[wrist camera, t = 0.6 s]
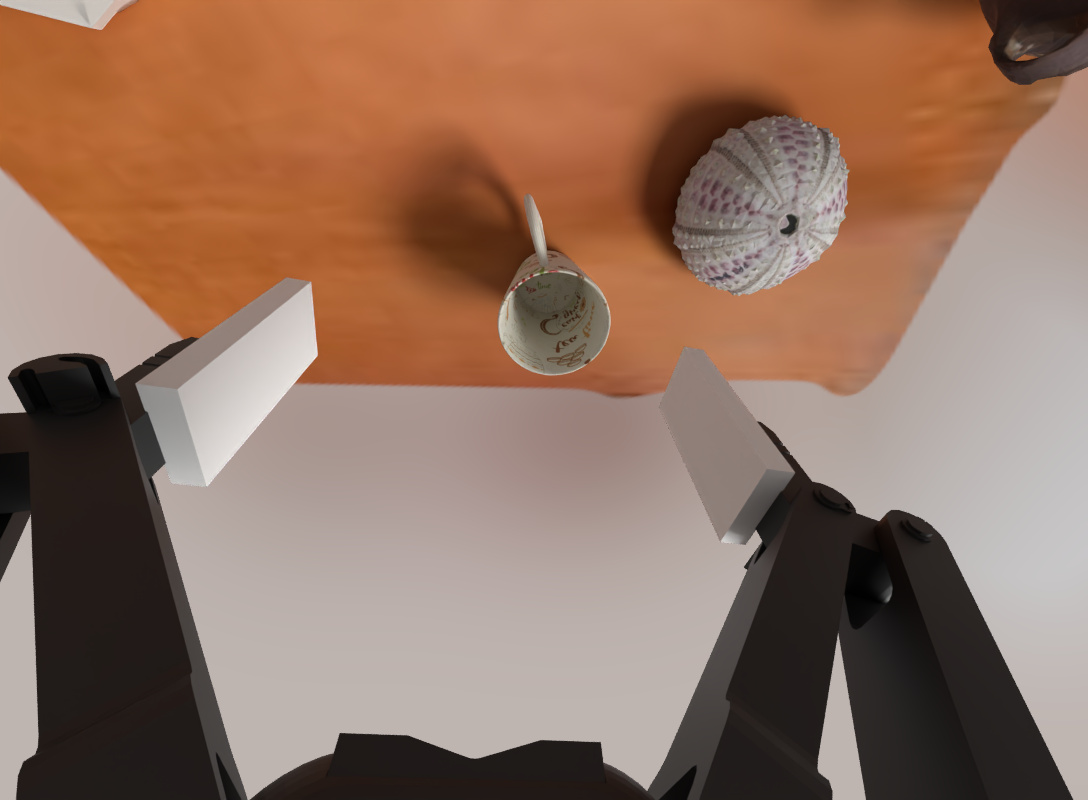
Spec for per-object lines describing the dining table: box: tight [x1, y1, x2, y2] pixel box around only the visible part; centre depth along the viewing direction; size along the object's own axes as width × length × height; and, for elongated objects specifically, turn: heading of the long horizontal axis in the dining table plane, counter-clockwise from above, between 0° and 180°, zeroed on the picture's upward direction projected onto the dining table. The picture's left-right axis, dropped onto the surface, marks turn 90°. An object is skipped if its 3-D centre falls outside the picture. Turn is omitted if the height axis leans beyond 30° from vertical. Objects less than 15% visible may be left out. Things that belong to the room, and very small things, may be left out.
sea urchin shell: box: [672, 115, 850, 296], centre depth 34 cm, size 13×14×8 cm
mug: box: [498, 194, 610, 375], centre depth 35 cm, size 8×12×10 cm, turn 15°
